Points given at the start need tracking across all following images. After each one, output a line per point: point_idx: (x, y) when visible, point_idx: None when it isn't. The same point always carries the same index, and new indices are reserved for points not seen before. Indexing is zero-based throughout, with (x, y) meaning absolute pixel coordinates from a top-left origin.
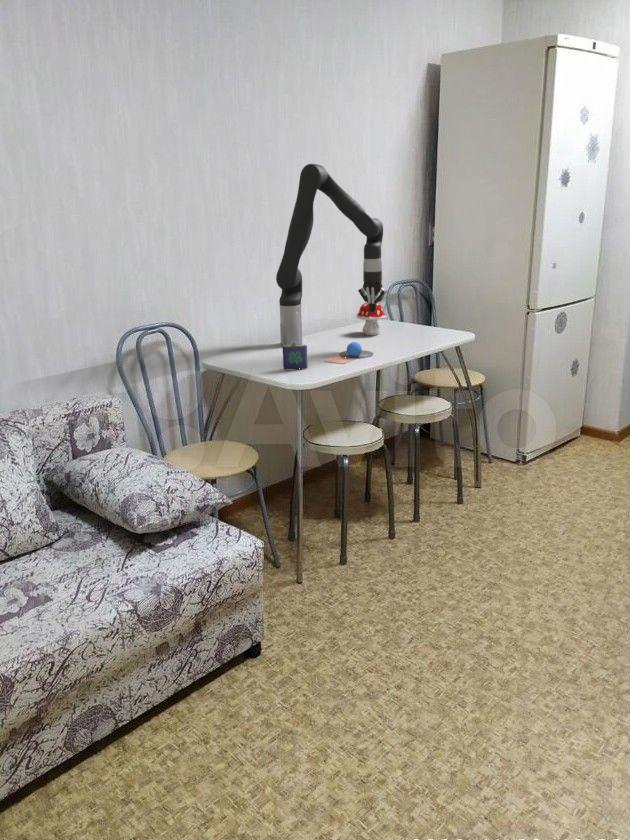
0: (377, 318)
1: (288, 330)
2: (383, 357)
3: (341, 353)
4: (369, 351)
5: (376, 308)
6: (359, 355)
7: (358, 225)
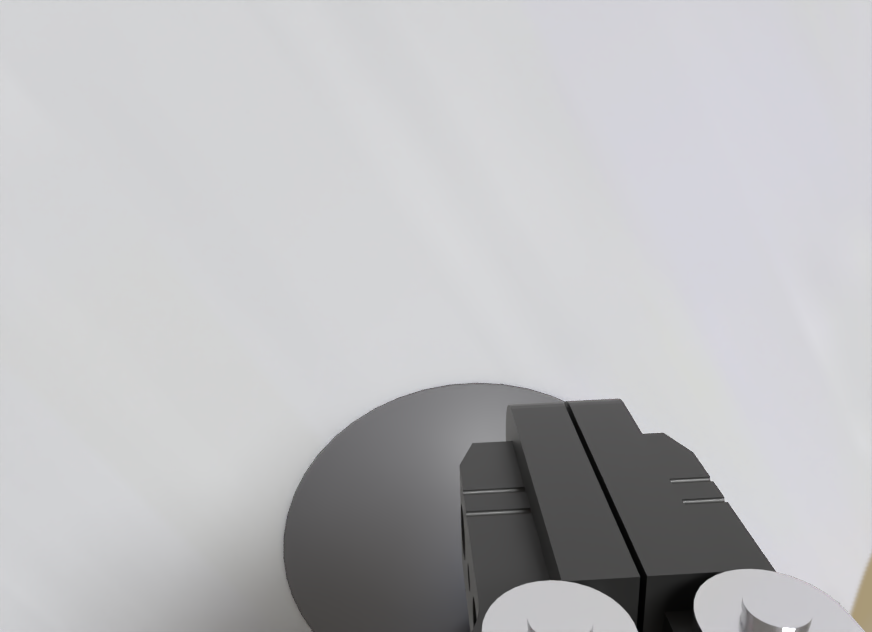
0: None
1: None
2: (791, 518)
3: (323, 608)
4: (538, 400)
5: (710, 484)
6: None
7: None
